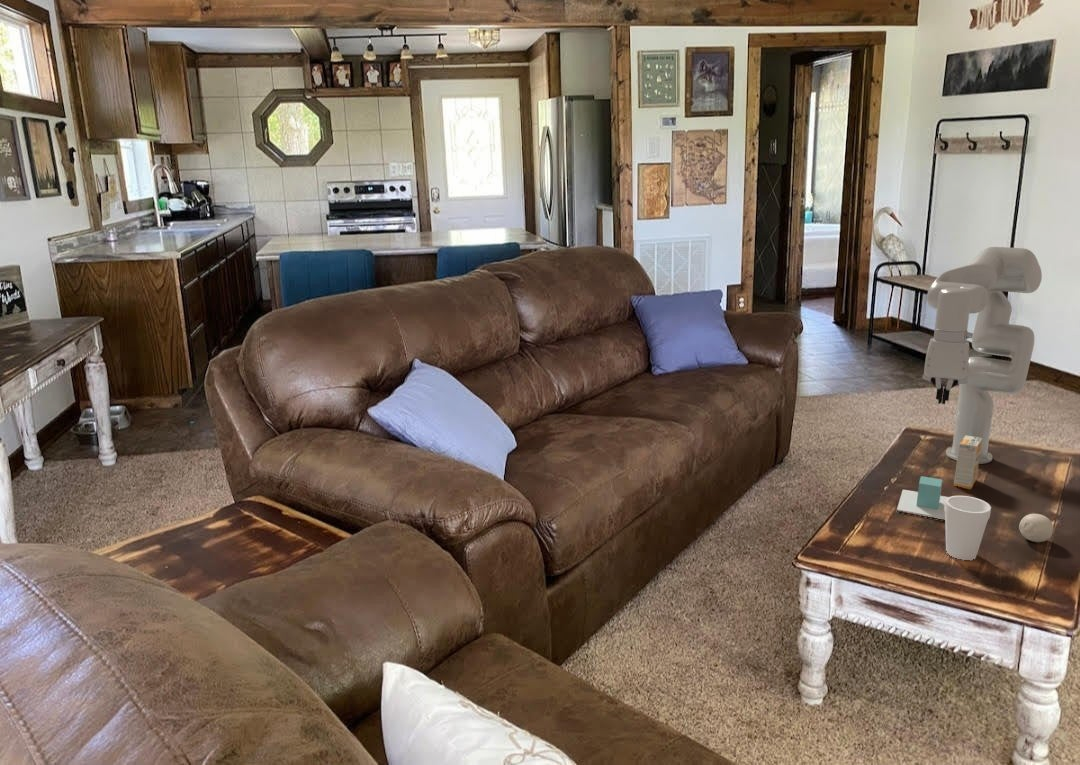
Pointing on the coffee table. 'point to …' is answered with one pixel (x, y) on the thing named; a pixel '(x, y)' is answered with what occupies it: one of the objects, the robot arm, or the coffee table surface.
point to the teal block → (929, 492)
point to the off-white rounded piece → (1036, 527)
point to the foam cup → (965, 525)
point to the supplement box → (967, 461)
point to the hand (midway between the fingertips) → (941, 402)
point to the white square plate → (910, 502)
